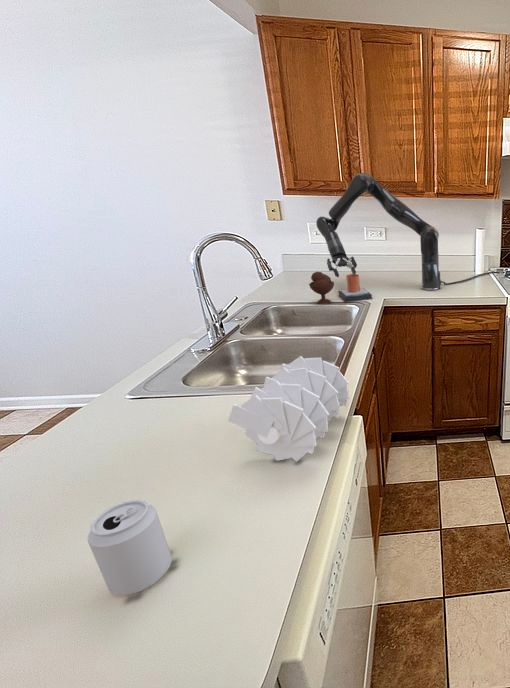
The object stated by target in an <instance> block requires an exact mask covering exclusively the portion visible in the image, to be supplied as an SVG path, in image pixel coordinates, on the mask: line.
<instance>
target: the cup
mask: <svg viewBox="0 0 510 688" xmlns="http://www.w3.org/2000/svg"><path fill="white" fill-rule="evenodd" d="M345 278H346V289H347V290H348V292H351V293H355V292H359V291H360V288H361V284H360V283H361V282H360V275H359V274H357V273H356V274H352V273H350V274H349V273H348V274H346V276H345Z"/></svg>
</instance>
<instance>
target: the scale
mask: <svg viewBox="0 0 510 688" xmlns="http://www.w3.org/2000/svg"><path fill="white" fill-rule="evenodd" d="M337 292H338V293H337V294H338V296H339V298H341V300H342V301H344V303H350V302H357V301H365V300H371V299H372V298H373V297H372V293H371V292H369V291H368V290H367V289H366V288H364V287H360V291H359V292H355V293H351V292H348V290H347V288H346V289H340V290H338V291H337Z"/></svg>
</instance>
